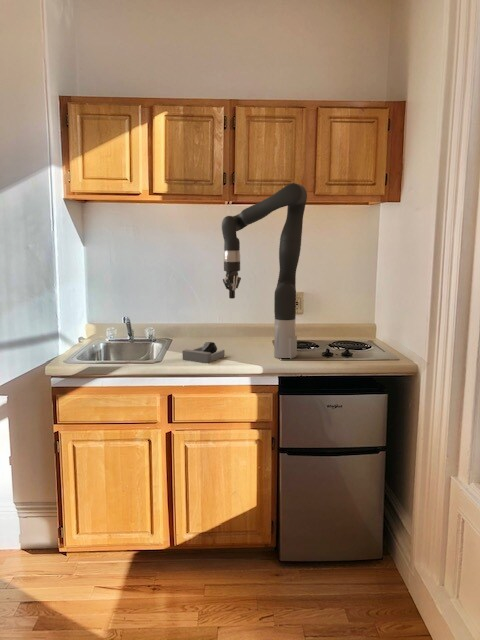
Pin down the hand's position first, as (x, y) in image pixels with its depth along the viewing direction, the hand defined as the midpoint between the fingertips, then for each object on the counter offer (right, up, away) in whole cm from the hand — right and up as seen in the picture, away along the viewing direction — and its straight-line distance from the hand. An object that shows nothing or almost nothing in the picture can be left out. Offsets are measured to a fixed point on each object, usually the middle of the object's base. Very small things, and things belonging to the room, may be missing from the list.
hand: (232, 298), depth 235 cm
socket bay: (-12, -27, -9) cm, 31 cm away
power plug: (-12, -27, -7) cm, 30 cm away
